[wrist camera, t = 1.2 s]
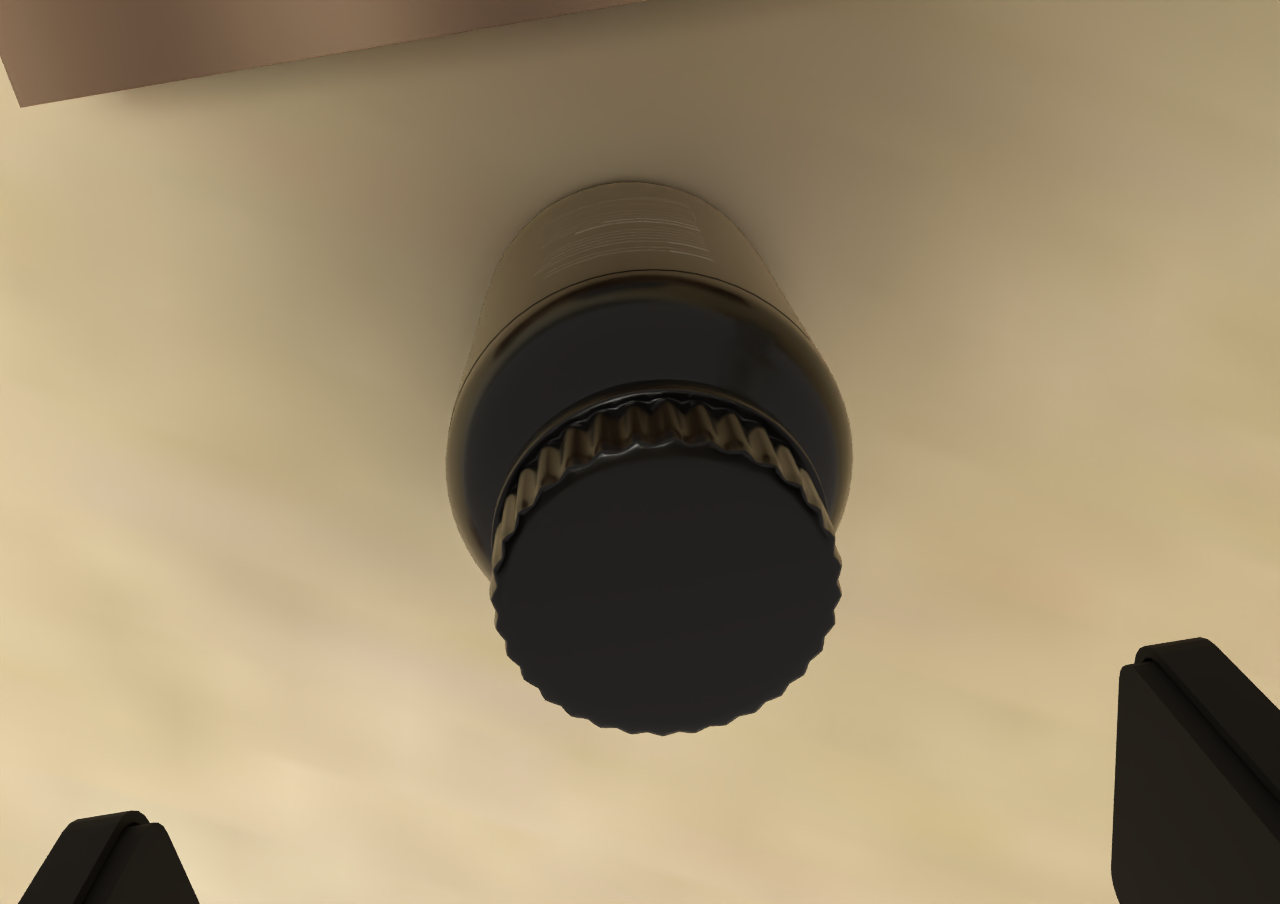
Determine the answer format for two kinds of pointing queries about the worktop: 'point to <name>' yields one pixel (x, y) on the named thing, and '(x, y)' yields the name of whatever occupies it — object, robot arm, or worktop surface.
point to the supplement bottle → (649, 464)
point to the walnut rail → (220, 36)
